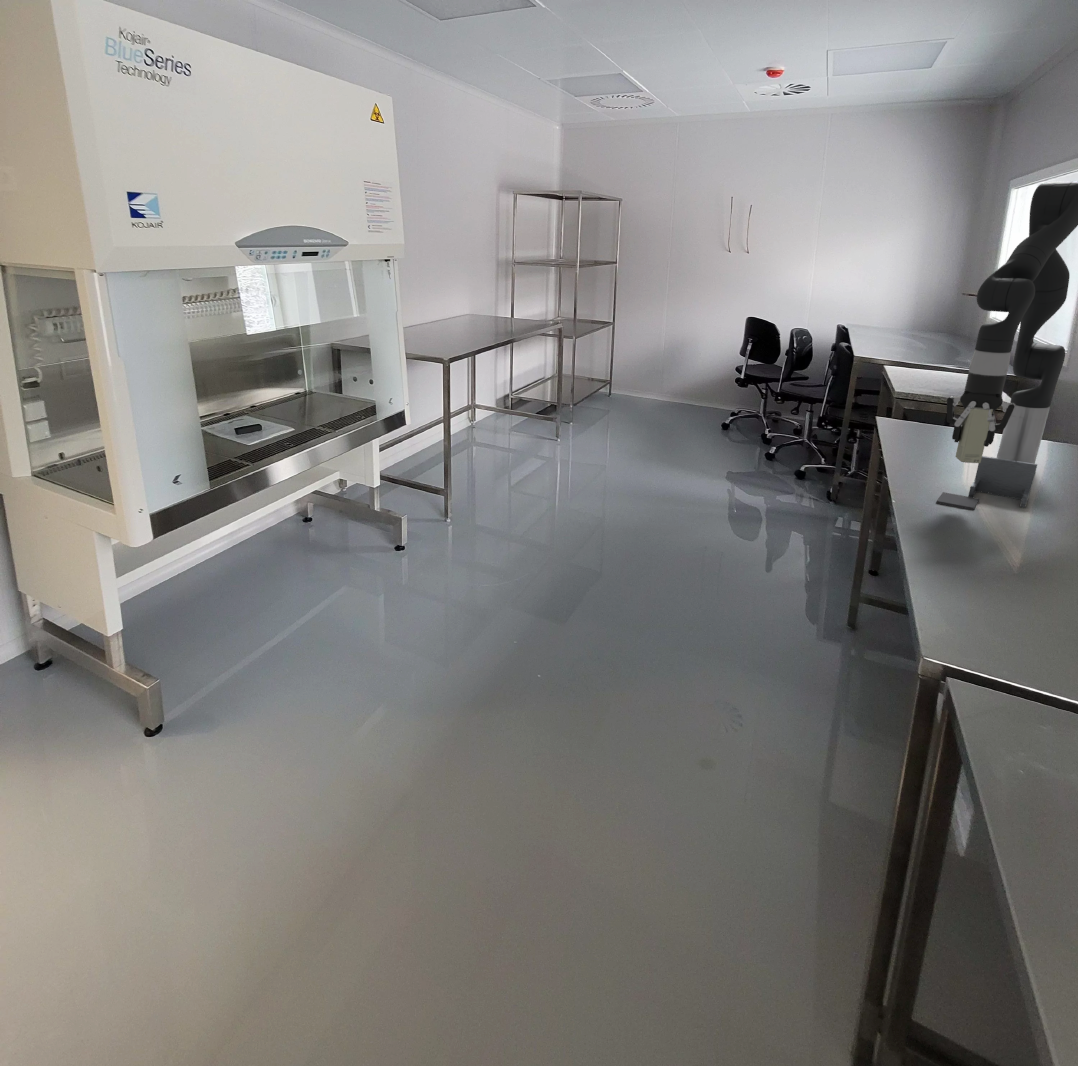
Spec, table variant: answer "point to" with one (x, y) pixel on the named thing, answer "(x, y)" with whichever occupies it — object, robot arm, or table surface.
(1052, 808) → the table surface
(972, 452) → the box
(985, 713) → the table surface
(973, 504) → the mat
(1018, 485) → the rack bay
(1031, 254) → the robot arm
